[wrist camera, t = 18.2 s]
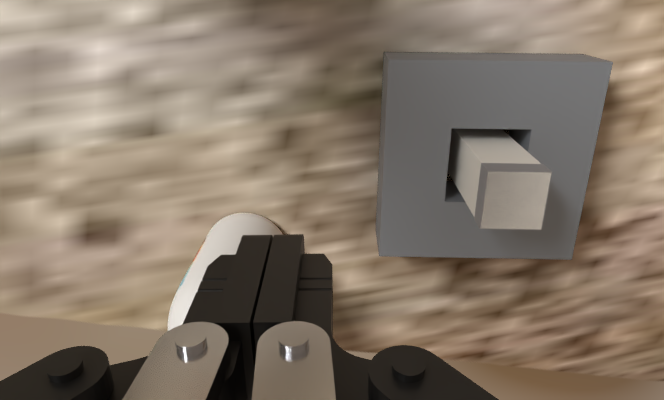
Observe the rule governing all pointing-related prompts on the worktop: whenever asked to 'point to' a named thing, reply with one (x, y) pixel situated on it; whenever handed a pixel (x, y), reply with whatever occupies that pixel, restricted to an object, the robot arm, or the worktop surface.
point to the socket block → (483, 113)
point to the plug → (498, 179)
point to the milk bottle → (216, 256)
